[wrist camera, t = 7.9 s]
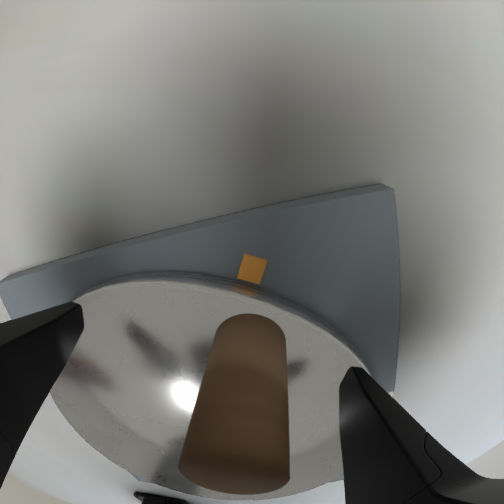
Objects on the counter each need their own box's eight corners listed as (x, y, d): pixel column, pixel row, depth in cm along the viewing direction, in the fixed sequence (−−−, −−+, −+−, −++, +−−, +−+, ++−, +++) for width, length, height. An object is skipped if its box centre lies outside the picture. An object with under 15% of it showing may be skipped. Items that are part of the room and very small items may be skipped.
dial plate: (376, 459, 16) (379, 472, 15) (142, 470, 19) (138, 481, 18) (381, 183, 10) (394, 189, 9) (7, 276, 13) (-7, 285, 11)
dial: (282, 499, 17) (280, 560, 11) (66, 429, 16) (35, 485, 10) (445, 350, 11) (503, 450, 5) (53, 203, 9) (-70, 262, 4)
